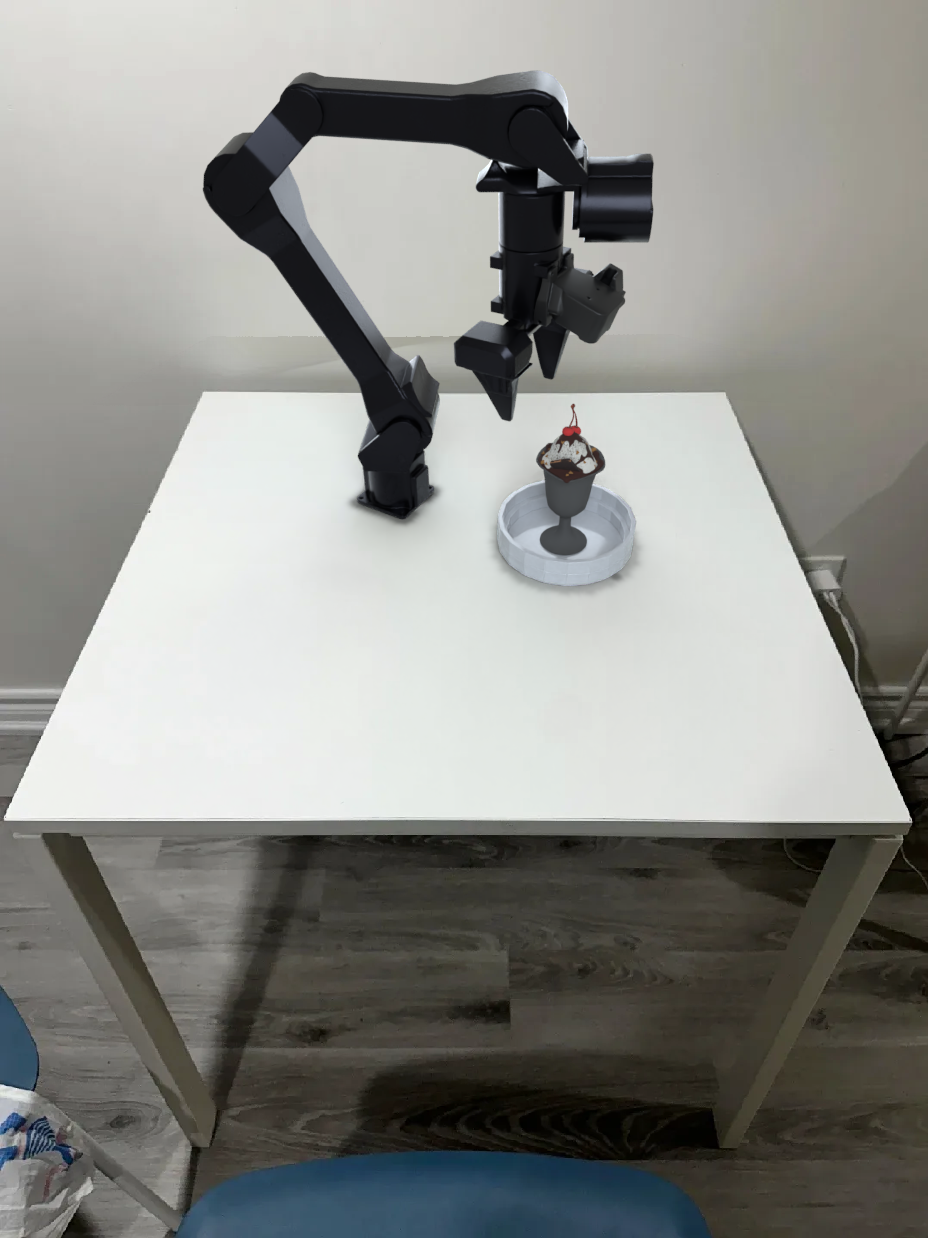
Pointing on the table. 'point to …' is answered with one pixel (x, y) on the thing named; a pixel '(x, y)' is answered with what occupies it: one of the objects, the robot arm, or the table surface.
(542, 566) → the pan
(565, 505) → the sundae
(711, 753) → the table surface
